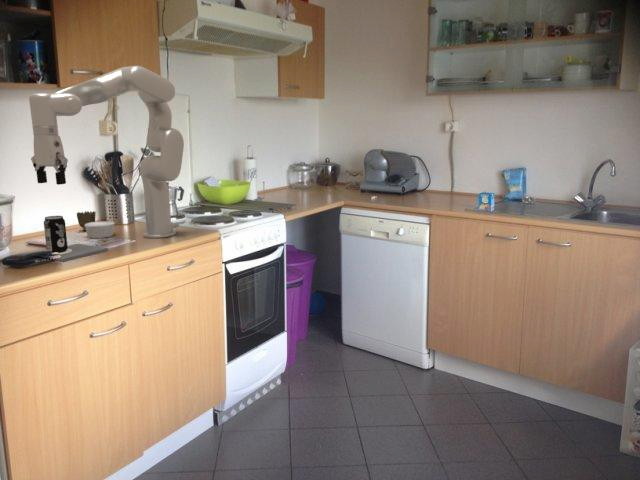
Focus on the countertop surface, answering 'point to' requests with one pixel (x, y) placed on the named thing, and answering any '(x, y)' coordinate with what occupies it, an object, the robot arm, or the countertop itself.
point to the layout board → (79, 252)
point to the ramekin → (100, 229)
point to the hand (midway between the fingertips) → (51, 183)
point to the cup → (85, 218)
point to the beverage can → (55, 234)
